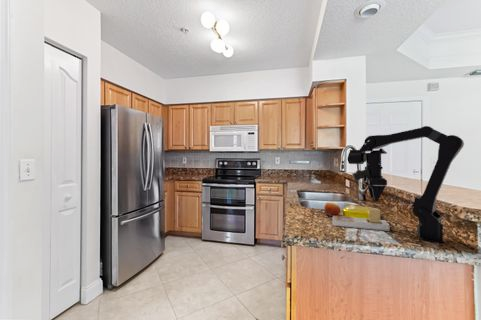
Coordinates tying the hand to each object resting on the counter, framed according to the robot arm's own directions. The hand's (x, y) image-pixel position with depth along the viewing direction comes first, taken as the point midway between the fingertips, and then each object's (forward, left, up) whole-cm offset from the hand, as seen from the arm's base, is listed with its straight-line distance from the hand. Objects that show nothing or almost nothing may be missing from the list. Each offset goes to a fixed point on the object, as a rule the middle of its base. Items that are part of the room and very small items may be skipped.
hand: (374, 199), depth 97 cm
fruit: (+17, -15, -13) cm, 26 cm away
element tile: (+3, -19, -13) cm, 23 cm away
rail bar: (+6, 0, -12) cm, 14 cm away
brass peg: (0, 0, -13) cm, 13 cm away
